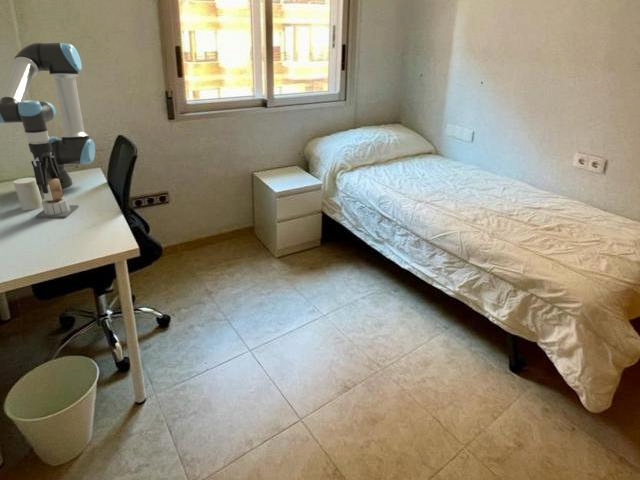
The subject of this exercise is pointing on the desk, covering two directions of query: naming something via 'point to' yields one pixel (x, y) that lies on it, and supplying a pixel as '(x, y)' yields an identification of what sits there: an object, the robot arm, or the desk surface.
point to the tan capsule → (54, 189)
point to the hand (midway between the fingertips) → (53, 196)
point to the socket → (56, 209)
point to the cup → (28, 193)
